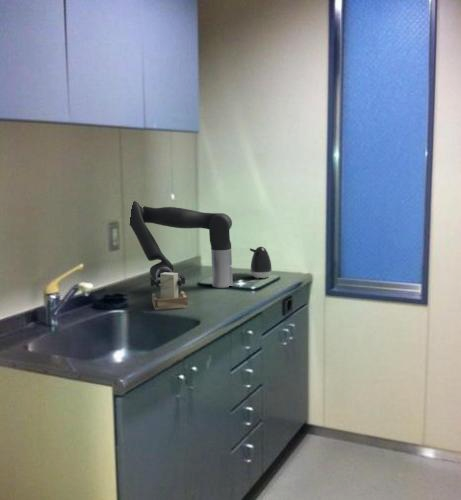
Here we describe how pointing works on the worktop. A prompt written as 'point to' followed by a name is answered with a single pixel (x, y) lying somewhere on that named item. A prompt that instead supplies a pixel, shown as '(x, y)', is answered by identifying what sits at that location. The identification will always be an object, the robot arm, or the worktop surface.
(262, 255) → the pump dispenser
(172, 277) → the skincare box
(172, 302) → the brown wooden tray
